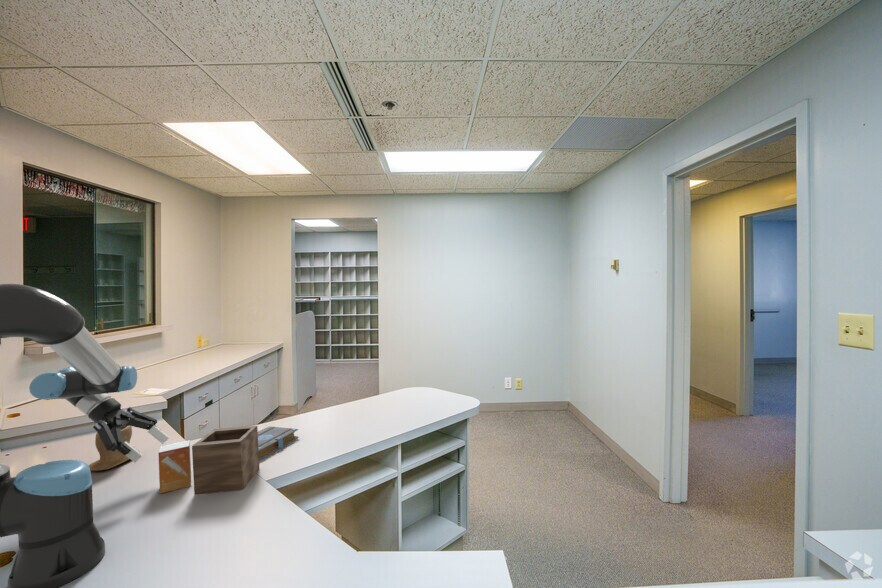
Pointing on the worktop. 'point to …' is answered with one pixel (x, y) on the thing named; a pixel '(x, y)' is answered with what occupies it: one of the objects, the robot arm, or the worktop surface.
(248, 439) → the open wooden box
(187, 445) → the small box
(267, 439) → the book
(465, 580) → the worktop surface
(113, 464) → the stone cup
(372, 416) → the worktop surface
